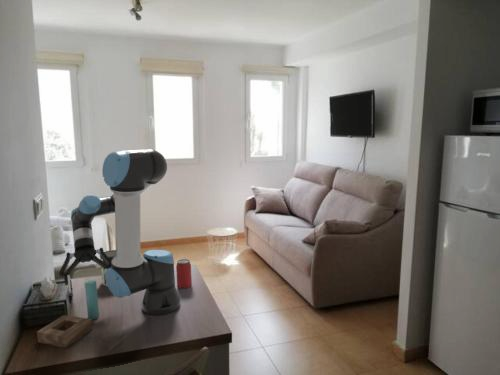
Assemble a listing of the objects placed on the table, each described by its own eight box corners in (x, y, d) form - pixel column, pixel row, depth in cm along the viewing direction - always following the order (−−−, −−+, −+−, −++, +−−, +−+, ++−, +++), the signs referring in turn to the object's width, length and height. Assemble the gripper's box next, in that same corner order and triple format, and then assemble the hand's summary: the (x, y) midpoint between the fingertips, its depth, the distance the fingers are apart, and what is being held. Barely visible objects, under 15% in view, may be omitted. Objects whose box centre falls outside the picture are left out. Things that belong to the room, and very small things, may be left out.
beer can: (174, 286, 171) (173, 261, 169) (186, 281, 175) (185, 257, 173) (182, 290, 166) (181, 265, 164) (194, 286, 170) (193, 261, 169)
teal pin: (101, 314, 145) (98, 281, 143) (94, 319, 142) (91, 285, 139) (92, 313, 147) (89, 279, 144) (85, 318, 143) (82, 284, 141)
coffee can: (129, 280, 178) (127, 252, 176) (111, 288, 170) (109, 258, 167) (115, 275, 184) (113, 248, 181) (97, 283, 175) (94, 254, 173)
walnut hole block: (91, 329, 135) (90, 319, 134) (66, 348, 124) (65, 337, 123) (65, 324, 138) (64, 314, 138) (38, 342, 127) (36, 331, 127)
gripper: (114, 241, 164) (122, 285, 153) (50, 250, 153) (54, 299, 142) (115, 232, 158) (123, 278, 148) (49, 241, 147) (52, 291, 137)
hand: (89, 288), depth 145 cm, fingers open, 13 cm apart
